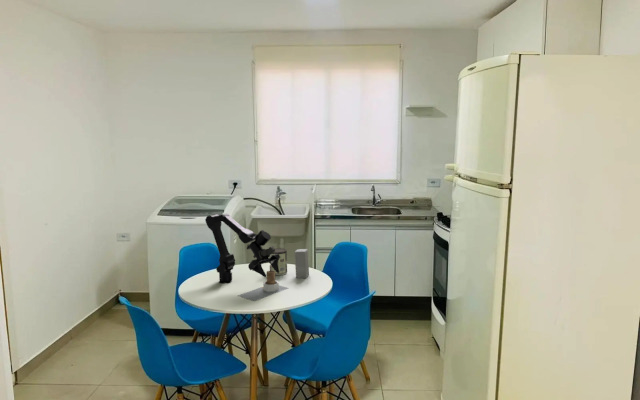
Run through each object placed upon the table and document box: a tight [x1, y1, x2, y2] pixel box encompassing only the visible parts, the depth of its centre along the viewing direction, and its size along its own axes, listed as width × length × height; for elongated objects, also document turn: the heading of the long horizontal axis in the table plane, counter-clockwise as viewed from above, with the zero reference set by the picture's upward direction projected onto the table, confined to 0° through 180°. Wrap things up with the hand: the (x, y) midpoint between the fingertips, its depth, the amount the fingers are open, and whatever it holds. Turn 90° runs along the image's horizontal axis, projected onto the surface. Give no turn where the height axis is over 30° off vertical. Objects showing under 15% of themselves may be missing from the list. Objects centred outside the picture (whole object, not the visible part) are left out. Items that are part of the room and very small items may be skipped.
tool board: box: [236, 280, 289, 302], centre depth 230 cm, size 25×13×4 cm, turn 141°
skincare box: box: [294, 248, 310, 279], centre depth 259 cm, size 8×7×16 cm
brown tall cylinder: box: [266, 265, 276, 285], centre depth 233 cm, size 4×4×13 cm
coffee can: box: [269, 247, 288, 276], centre depth 266 cm, size 10×10×14 cm
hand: (272, 274), depth 232 cm, fingers open, 9 cm apart
